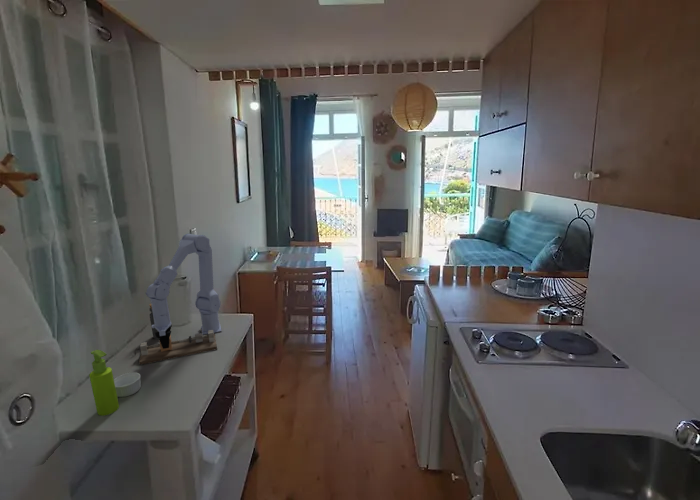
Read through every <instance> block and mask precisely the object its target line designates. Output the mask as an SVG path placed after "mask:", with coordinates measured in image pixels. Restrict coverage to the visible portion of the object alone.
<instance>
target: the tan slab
mask: <svg viewBox="0 0 700 500" xmlns="http://www.w3.org/2000/svg"><path fill="white" fill-rule="evenodd" d="M147 343H148V342H145V341H144V342H141V343H140V345H139V346H140V353H141V354H140V356H139V360H138V361H139V362H138V363H139V365H140V366H141V365H142V366H143V365H147V364H151V363H157V362H161V361H166V360H170V359H175V358H180V357H186V356H189V355H190V356H191V355H196V354H200V353H205V352H209V351H215V350H218V346H217V339H216V334H215V333H213V330H209V331H208V334H205V335H202V332H200V333H195V334H194V336H193V337H192V336H191V335H190V336H188V338H183V339H178V340H177V339H176V340H172V342H171V344H172V350H167V351H162V352H161V348H160V343H156V344H151V345H148V344H147Z"/></svg>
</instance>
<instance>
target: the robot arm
mask: <svg viewBox="0 0 700 500" xmlns="http://www.w3.org/2000/svg"><path fill="white" fill-rule="evenodd" d="M178 242H179V243H178V244H179V245H178V248H177V250H176V252H175V253H174V255H173V256H172V259H171V260H170V263H169V264H168V265H167V266H164V267H162V268H161V269H160V271H159V274H158V275H157V277H156V279H155V280H154V281H153V283H151V284H150V285H148V287H147V289H146V292H145V295H146V297H148V299H149V301H150V304H151V306H152V312H153V317H154V323H155V325H152V327H151V329H152V328H155V329H156V330H158V332H156V333H155V335H156V337H157V338H158V339H157V340H158V341H160V342H159V344H160V343H161V345H162V347H163V349H165V348H169V338H170V334H171V335H172V330H171V329H172V325H173V324H172V321H171V315H170V310H169V302H168V296H169V294H170V288H171V285H172V284H173V283H174V281H175V279H176V278H177V275H178V271H177V270H178V269H179V267H180V266H181V265H182V263H183V262H184V261H185V259H186V258H187V256H188V255H190V254H194V253H195V254H196V255H198V272H199V287H200V288H199V291H198V292H197V294H196V299H195V302H194V303H195V307H196V309H197V310H198V311H199V313H200V321H201V333H202V336H203V335H208V331H209V330H213V333H214V334H215V333H219V332H220V333H221V332H222V326H221V323H220V320H219V318H220V317H219V311H220V310H219V309H220V308H221V306H222V305H221V300H220V296H219V294H218V293H217V291H216V290H215V289H214V270H213V268H214V266H213V249H212V247H211V245H210V238H208V237H207V236H206V235H204V234H195V233H185V234H183V236H182V237H181V239H180V241H178Z"/></svg>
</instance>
